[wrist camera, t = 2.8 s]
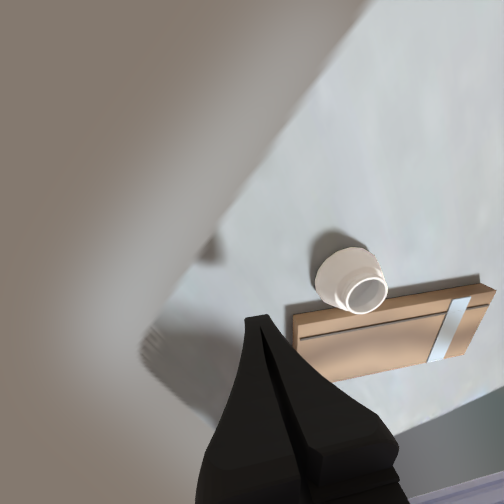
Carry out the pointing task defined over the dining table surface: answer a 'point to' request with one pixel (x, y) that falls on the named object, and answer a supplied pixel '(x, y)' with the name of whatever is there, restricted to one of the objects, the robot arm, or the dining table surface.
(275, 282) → the dining table surface
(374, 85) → the dining table surface
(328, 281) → the lidless jar
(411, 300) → the board
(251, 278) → the dining table surface
